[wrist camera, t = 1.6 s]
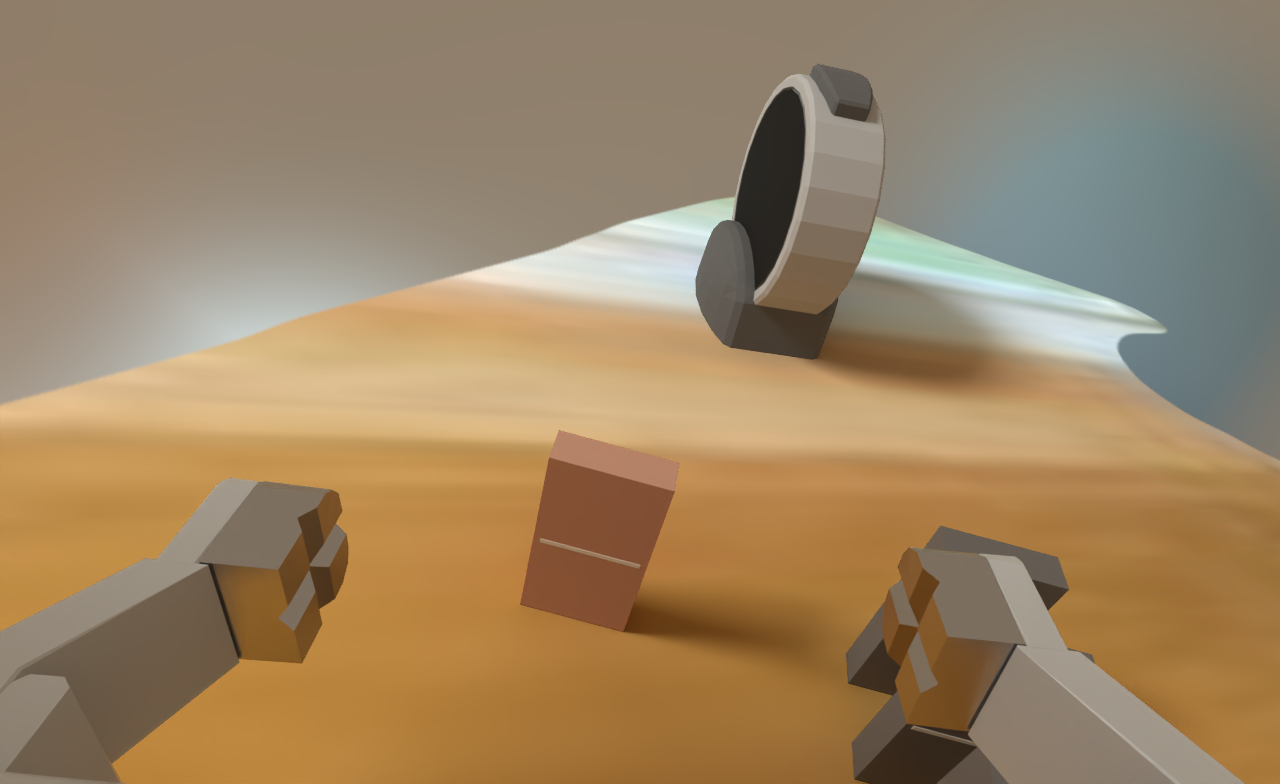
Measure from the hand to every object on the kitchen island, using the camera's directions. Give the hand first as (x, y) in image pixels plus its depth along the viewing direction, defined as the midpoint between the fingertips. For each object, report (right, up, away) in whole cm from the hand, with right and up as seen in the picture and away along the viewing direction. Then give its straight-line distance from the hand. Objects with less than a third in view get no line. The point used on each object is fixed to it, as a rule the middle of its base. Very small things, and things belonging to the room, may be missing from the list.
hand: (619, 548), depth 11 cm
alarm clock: (+10, +9, +49) cm, 51 cm away
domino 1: (-3, -8, +25) cm, 26 cm away
